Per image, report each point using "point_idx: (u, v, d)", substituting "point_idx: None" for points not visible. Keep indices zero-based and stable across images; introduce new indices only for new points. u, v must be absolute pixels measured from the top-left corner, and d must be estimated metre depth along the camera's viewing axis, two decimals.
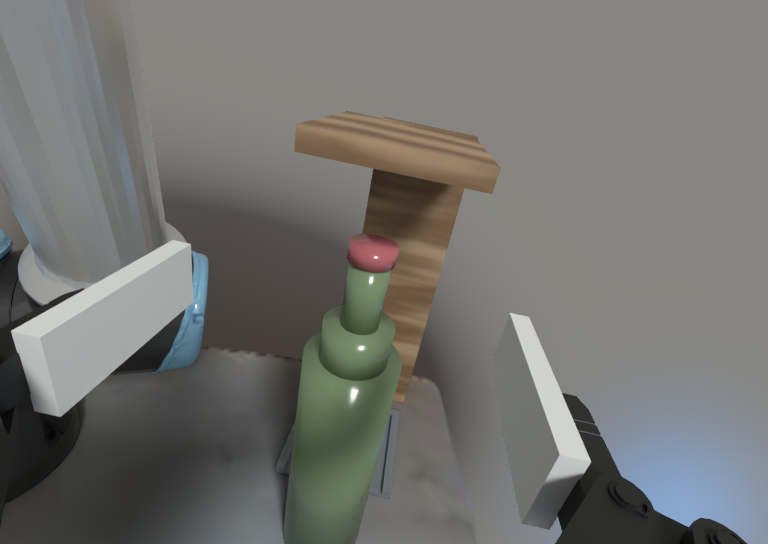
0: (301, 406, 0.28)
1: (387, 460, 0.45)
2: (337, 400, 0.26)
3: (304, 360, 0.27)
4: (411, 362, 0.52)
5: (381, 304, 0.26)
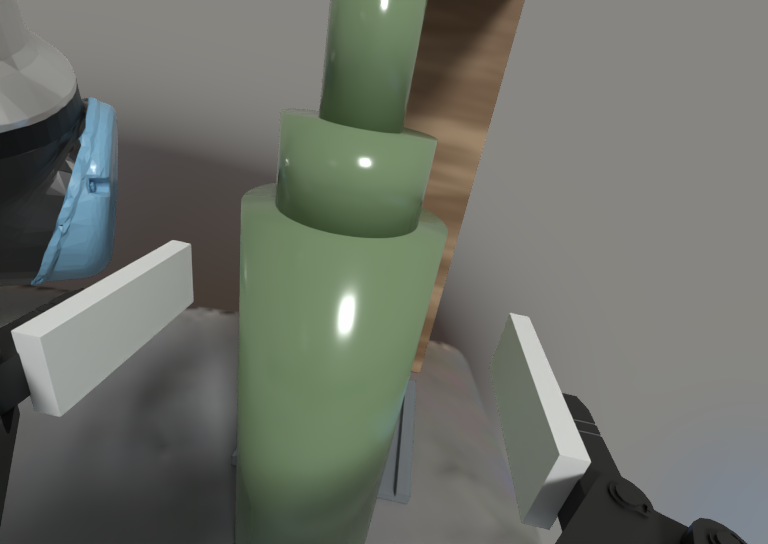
0: (242, 312, 0.14)
1: (402, 446, 0.31)
2: (311, 273, 0.11)
3: (243, 204, 0.13)
4: (431, 312, 0.37)
5: (411, 53, 0.11)
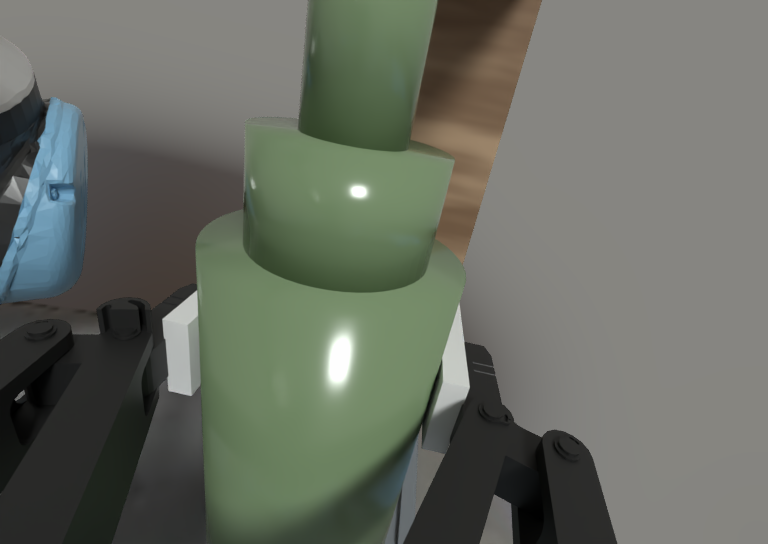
0: (201, 378, 0.11)
1: (404, 487, 0.28)
2: (283, 345, 0.08)
3: (198, 243, 0.10)
4: None
5: (422, 42, 0.08)
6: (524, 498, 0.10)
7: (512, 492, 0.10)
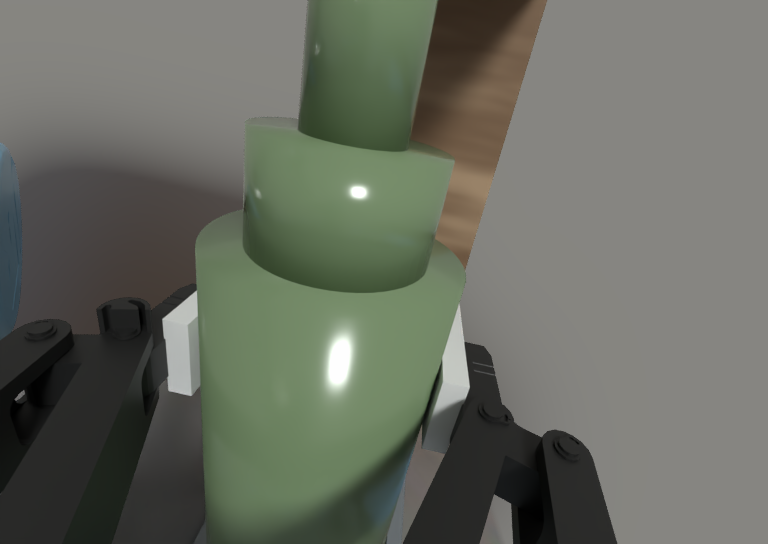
0: (201, 378, 0.11)
1: None
2: (283, 346, 0.08)
3: (198, 243, 0.10)
4: None
5: (422, 42, 0.08)
6: (524, 497, 0.10)
7: (512, 492, 0.10)
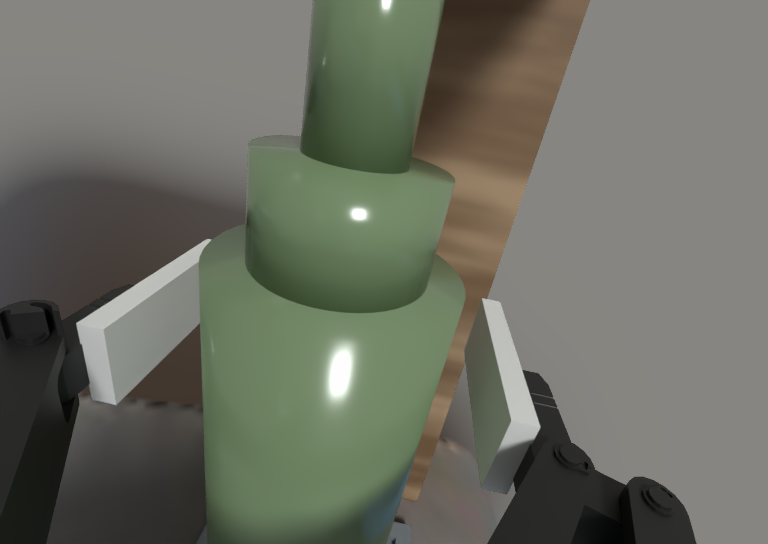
0: (203, 393, 0.11)
1: None
2: (285, 367, 0.08)
3: (201, 262, 0.10)
4: (433, 429, 0.26)
5: (423, 68, 0.08)
6: None
7: None
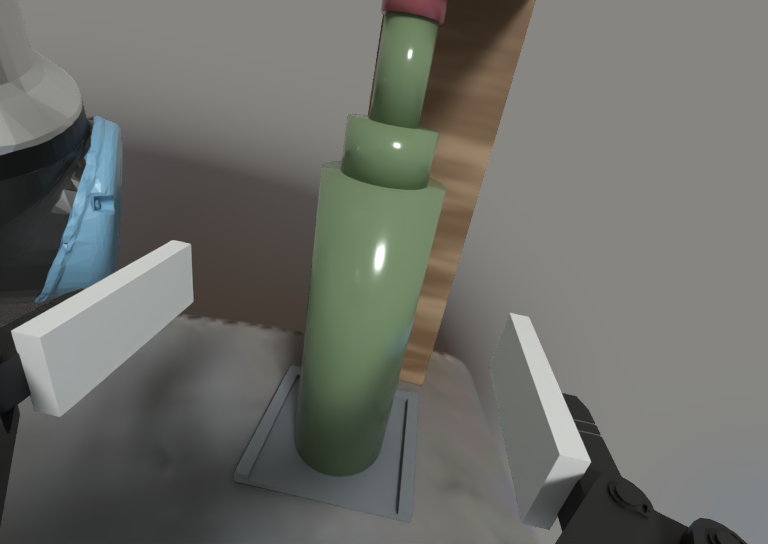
0: (319, 239, 0.22)
1: (404, 463, 0.30)
2: (368, 207, 0.20)
3: (324, 171, 0.21)
4: (434, 325, 0.37)
5: (424, 82, 0.20)
6: None
7: None
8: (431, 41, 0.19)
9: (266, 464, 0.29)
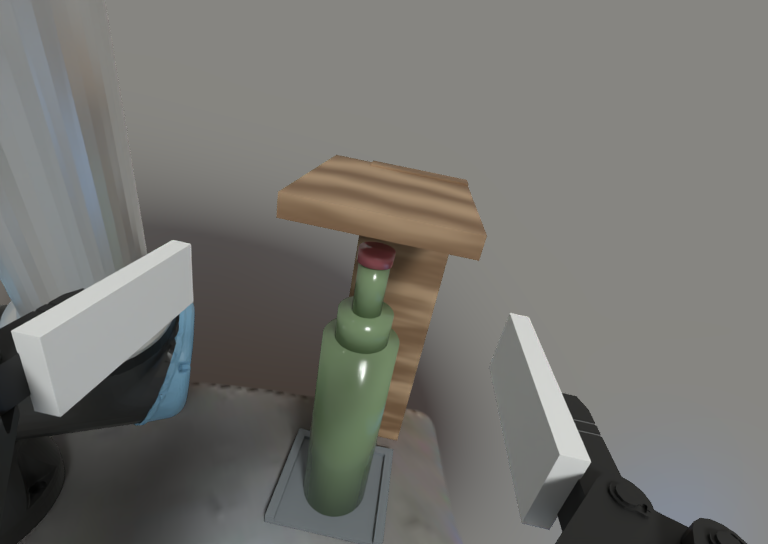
0: (321, 376, 0.36)
1: (379, 506, 0.44)
2: (350, 368, 0.34)
3: (324, 339, 0.35)
4: (404, 400, 0.51)
5: (383, 294, 0.34)
6: None
7: None
8: (385, 276, 0.33)
9: (285, 509, 0.43)
